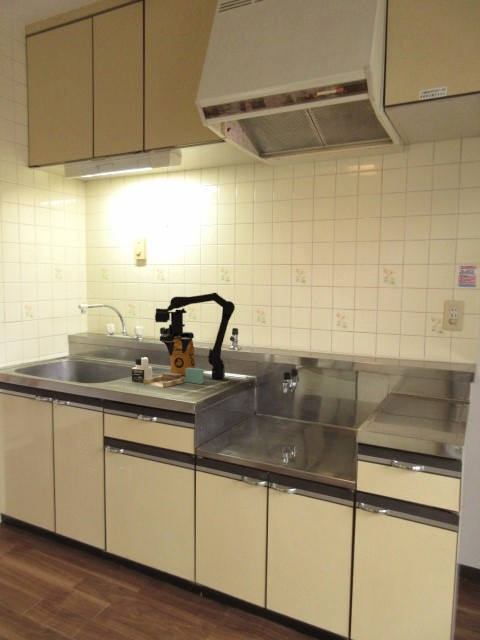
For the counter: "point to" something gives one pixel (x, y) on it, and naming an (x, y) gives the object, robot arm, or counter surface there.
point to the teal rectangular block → (194, 375)
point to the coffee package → (182, 357)
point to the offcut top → (171, 375)
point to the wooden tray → (162, 382)
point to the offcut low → (167, 379)
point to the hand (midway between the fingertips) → (177, 354)
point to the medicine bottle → (141, 370)
